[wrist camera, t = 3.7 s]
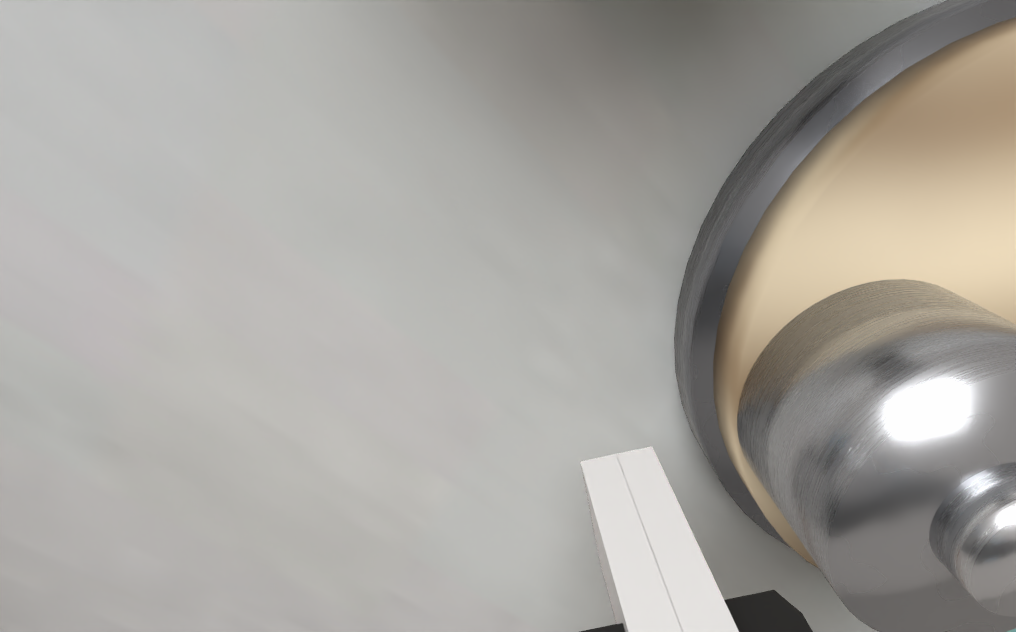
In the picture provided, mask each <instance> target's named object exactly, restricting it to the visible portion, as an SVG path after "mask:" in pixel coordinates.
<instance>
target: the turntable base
mask: <svg viewBox="0 0 1016 632" xmlns="http://www.w3.org/2000/svg"><path fill="white" fill-rule="evenodd" d="M1015 17H1016V0H947V1H944V2H942V3H939V4H937V5H935V6H933V7H930V8H928V9H926V10H924V11H921V12H919V13H917V14H914V15H912V16H910V17H908V18H905V19H903V20H901V21H899V22H897V23H895V24H894V25H892V26H890V27H889V28H887V29H885V30H884V31H882V32H880V33H879V34H877V35H875V36H873V37H872V38H870V39H868V40H867V41H865V42H863V43H862V44H860V45H858V46H856V47H855V48H854V49H852V50H851V51H850V52H848V53H847V54H846V55H844V56H843V57H842V58H840V59H839V60H838V61H836V62H835V63H834V64H832V65H831V66H830V67H828V68H827V69H826V70H825V71H823V72H822V73H821V74H819V75H818V76H817V77H815V78H814V79H813V80H812V81H811V82H810V83H809V84H808V85H807V86H806V87H805V88H804V89H803V90H802V91H800V92H799V93H798V94H797V95H796V96H795V97H794V98H793V99H792V100H791V101H790V102H789V103H788V104H787V105H786V106H785V107H783V108H782V109H781V110H780V111H779V112H778V114H777V115H776V116H775V117H774V118H773V119H772V121H771V122H770V123H769V124H768V125H767V127H766V128H765V129H764V130H763V131H762V132H761V134H760V135H759V136H758V137H757V138H756V139H755V141H754V142H753V143H752V144H751V145H750V146H749V148H748V149H747V151H746V152H745V153H744V155H743V156H742V158H741V159H740V161H739V162H738V164H737V165H736V167H735V168H734V170H733V171H732V173H731V174H730V176H729V177H728V179H727V180H726V182H725V183H724V184H723V186H722V188H721V190H720V192H719V194H718V195H717V197H716V199H715V201H714V203H713V205H712V207H711V209H710V211H709V213H708V215H707V216H706V218H705V220H704V222H703V224H702V226H701V229H700V232H699V234H698V237H697V240H696V242H695V245H694V247H693V250H692V253H691V255H690V258H689V261H688V263H687V267H686V271H685V275H684V279H683V284H682V288H681V292H680V296H679V300H678V308H677V317H676V327H675V337H674V341H675V366H676V376H677V381H678V386H679V391H680V397H681V402H682V405H683V408H684V411H685V414H686V416H687V419H688V422H689V424H690V427H691V430H692V432H693V434H694V436H695V438H696V439H697V441H698V443H699V445H700V447H701V448H702V450H703V452H704V454H705V455H706V457H707V459H708V461H709V462H710V464H711V466H712V467H713V469H714V471H715V472H716V474H717V476H718V477H719V479H720V481H721V482H722V484H723V486H724V487H725V489H726V491H727V492H728V493H729V494H730V495H731V497H732V498H733V499H734V500H735V502H736V503H737V504H738V505H739V507H740V508H741V509H742V510H743V511H744V513H745V514H746V515H748V516H749V517H750V518H751V519H752V520H753V521H754V522H755V523H757V524H758V525H759V526H760V527H761V528H762V529H763V530H765V531H766V532H767V533H768V534H770V535H772V536H773V537H775V538H776V539H778V540H780V541H781V542H783V543H784V544H786V545H787V546H789V545H788V544H787V543H786V542H785V541H784V540H783V538H782V537H781V536H780V535H779V533H778V532H777V531H776V530H775V528H774V527H773V526H772V525H771V523H770V522H769V521H768V520H767V518H766V517H765V515H764V514H763V512H762V511H761V509H760V507H759V506H758V504H757V503H756V501H755V500H754V498H753V497H752V495H751V494H750V492H749V490H748V489H747V487H746V486H745V484H744V483H743V481H742V479H741V478H740V476H739V474H738V472H737V470H736V468H735V467H734V465H733V463H732V461H731V459H730V457H729V455H728V452H727V450H726V447H725V444H724V441H723V438H722V435H721V432H720V429H719V425H718V419H717V413H716V407H715V402H714V391H713V359H714V351H715V344H716V336H717V328H718V323H719V320H720V316H721V312H722V309H723V305H724V301H725V298H726V294H727V290H728V287H729V284H730V282H731V280H732V277H733V275H734V272H735V270H736V267H737V265H738V263H739V260H740V258H741V255H742V253H743V250H744V248H745V246H746V245H747V243H748V241H749V239H750V237H751V236H752V234H753V232H754V230H755V228H756V227H757V225H758V223H759V221H760V219H761V218H762V216H763V214H764V212H765V210H766V209H767V207H768V206H769V205H770V203H771V202H772V200H773V199H774V197H775V196H776V195H777V193H778V192H779V190H780V189H781V188H782V186H783V185H784V183H785V182H786V181H787V179H788V178H789V176H790V175H791V174H792V172H793V171H794V170H795V169H796V167H797V166H798V165H799V164H800V163H801V162H802V161H803V160H804V158H805V157H806V156H807V155H808V154H809V153H810V152H811V151H812V149H813V148H814V147H815V146H816V145H817V144H818V143H819V141H820V140H821V139H822V138H823V137H824V136H825V135H826V134H827V133H828V132H829V131H830V130H831V129H832V128H833V127H834V126H835V125H837V124H838V123H839V122H840V121H841V120H842V119H843V118H844V117H845V116H846V115H848V114H849V113H850V112H851V111H852V110H853V109H854V108H855V107H856V106H857V105H859V104H860V103H861V102H862V101H863V100H864V99H865V98H867V97H868V96H869V95H871V94H872V93H874V92H875V91H876V90H878V89H879V88H880V87H882V86H883V85H884V84H886V83H887V82H889V81H890V80H891V79H893V78H894V77H895V76H897V75H898V74H899V73H901V72H902V71H904V70H905V69H906V68H908V67H910V66H912V65H913V64H915V63H917V62H919V61H920V60H922V59H924V58H926V57H927V56H929V55H931V54H932V53H934V52H936V51H938V50H939V49H941V48H943V47H945V46H946V45H948V44H950V43H952V42H954V41H956V40H959V39H961V38H963V37H966V36H968V35H970V34H973V33H975V32H977V31H980V30H982V29H984V28H986V27H989V26H991V25H993V24H996V23H998V22H1002V21H1005V20H1008V19H1012V18H1015ZM789 547H791V546H789ZM791 548H792V547H791Z"/></svg>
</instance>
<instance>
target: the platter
mask: <svg viewBox="0 0 1016 632" xmlns="http://www.w3.org/2000/svg"><path fill="white" fill-rule="evenodd" d="M891 279H907V280H917V281H923V282H927V283H931V284H935V285H938V286H940V287H943V288H945V289H947V290H950V291H952V292H954V293H956V294H958V295H960V296H962V297H964V298H965V299H967V300H969V301H971V302H973V303H975V304H977V305H979V306H981V307H983V308H985V309H987V310H989V311H991V312H993V313H995V314H997V315H999V316H1001V317H1003V318H1005V319H1007V320H1009V321H1011V322H1012V323H1014V324H1016V17H1015V18H1012V19H1008V20H1005V21H1002V22H998V23H996V24H993V25H991V26H989V27H986V28H984V29H982V30H980V31H977V32H975V33H973V34H970V35H968V36H966V37H963V38H961V39H959V40H956V41H954V42H952V43H950V44H948V45H946V46H945V47H943V48H941V49H939V50H938V51H936V52H934V53H932V54H931V55H929V56H927V57H926V58H924V59H922V60H920V61H919V62H917V63H915V64H913V65H912V66H910V67H908V68H906V69H905V70H904V71H902V72H901V73H899V74H898V75H897V76H895V77H894V78H893V79H891V80H890V81H889V82H887V83H886V84H884V85H883V86H882V87H880V88H879V89H878V90H876V91H875V92H874V93H872V94H871V95H869V96H868V97H867V98H865V99H864V100H863V101H862V102H861V103H860V104H859V105H857V106H856V107H855V108H854V109H853V110H852V111H851V112H850V113H849V114H848V115H846V116H845V117H844V118H843V119H842V120H841V121H840V122H839V123H838V124H837V125H835V126H834V127H833V128H832V129H831V130H830V131H829V132H828V133H827V134H826V135H825V136H824V137H823V138H822V139H821V140H820V141H819V143H818V144H817V145H816V146H815V147H814V148H813V149H812V151H811V152H810V153H809V154H808V155H807V156H806V157H805V158H804V160H803V161H802V162H801V163H800V164H799V165H798V166H797V167H796V169H795V170H794V171H793V172H792V174H791V175H790V176H789V178H788V179H787V181H786V182H785V183H784V185H783V186H782V188H781V189H780V190H779V192H778V193H777V195H776V196H775V197H774V199H773V200H772V202H771V203H770V205H769V206H768V207H767V209H766V210H765V212H764V214H763V216H762V218H761V219H760V221H759V223H758V225H757V227H756V228H755V230H754V232H753V234H752V236H751V237H750V239H749V241H748V243H747V245H746V246H745V248H744V250H743V253H742V255H741V258H740V260H739V263H738V265H737V267H736V270H735V272H734V275H733V277H732V280H731V282H730V284H729V287H728V290H727V294H726V298H725V301H724V305H723V309H722V312H721V316H720V320H719V323H718V328H717V336H716V344H715V351H714V359H713V391H714V402H715V407H716V413H717V419H718V425H719V429H720V432H721V435H722V438H723V441H724V444H725V447H726V450H727V452H728V455H729V457H730V459H731V461H732V463H733V465H734V467H735V468H736V470H737V472H738V474H739V476H740V478H741V479H742V481H743V483H744V484H745V486H746V487H747V489H748V490H749V492H750V494H751V495H752V497H753V498H754V500H755V501H756V503H757V504H758V506H759V507H760V509H761V511H762V512H763V514H764V515H765V517H766V518H767V520H768V521H769V522H770V523H771V525H772V526H773V527H774V528H775V530H776V531H777V532H778V533H779V535H780V536H781V537H782V538H783V540H784V541H785V542H786V543H787V544H788V545H789V546H791V547H792V548H793V549H794V550H795V551H796V552H797V553H798V554H800V555H801V556H802V557H803V558H804V559H805V560H806V561H808V562H809V563H811V564H813V565H814V566H816V567H817V568H819V567H818V566H817V564H816V563H815V561H814V560H813V558H812V557H811V556H810V554H809V553H808V551H807V550H806V548H805V547H804V545H803V544H802V542H801V541H800V539H799V538H798V537H797V535H796V534H795V532H794V531H793V529H792V528H791V526H790V525H789V523H788V522H787V520H786V519H785V518H784V516H783V515H782V513H781V512H780V510H779V509H778V507H777V506H776V504H775V503H774V501H773V500H772V499H771V497H770V496H769V494H768V493H767V491H766V490H765V488H764V487H763V485H762V484H761V482H760V481H759V480H758V478H757V477H756V475H755V474H754V472H753V471H752V469H751V468H750V466H749V465H748V463H747V461H746V459H745V457H744V455H743V452H742V449H741V446H740V443H739V438H738V431H737V413H738V406H739V400H740V396H741V393H742V390H743V386H744V384H745V381H746V379H747V377H748V375H749V372H750V370H751V368H752V367H753V365H754V363H755V362H756V360H757V358H758V357H759V355H760V354H761V352H762V351H763V350H764V348H765V347H766V346H767V345H768V343H769V342H770V341H771V340H772V339H773V337H774V336H775V335H776V334H777V333H778V332H779V331H780V330H781V329H782V328H783V327H784V326H785V325H787V324H788V323H789V322H790V321H791V320H793V319H794V318H795V317H796V316H797V315H799V314H800V313H801V312H803V311H804V310H806V309H807V308H809V307H810V306H812V305H813V304H815V303H817V302H819V301H821V300H823V299H824V298H826V297H828V296H830V295H832V294H835V293H837V292H840V291H842V290H845V289H847V288H850V287H853V286H857V285H860V284H864V283H868V282H874V281H880V280H891ZM1007 632H1016V629H1013V630H1010V631H1007Z"/></svg>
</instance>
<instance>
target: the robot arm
mask: <svg viewBox="0 0 1016 632" xmlns="http://www.w3.org/2000/svg"><path fill="white" fill-rule="evenodd" d="M580 462H581V467H582V473H583V478H584V483H585V488H586V493H587V498H588V504H589V509H590V514H591V519H592V524H593V529H594V535H595V540H596V545H597V550H598V555H599V560H600V564H601V568H602V572H603V575H604V579H605V583H606V587H607V590H608V594H609V598H610V602H611V606H612V609H613V613H614V617H615V621H616V624H615V625H610V626H605V627H600V628H595V629H590V630H586V631H581V632H813V631H812V630H811V628H810V626H809V625H808V623H807V621H806V619H805V618H804V616H803V614H802V613H801V612H800V611H799V610H797V609H796V608H795V607H794V606H793V605H791V604H790V603H789V602H788V601H787V600H785V599H784V598H783V597H782V596H781V595H779V594H778V593H777V592H776V591H775V590H771V591H766V592H762V593H757V594H752V595H747V596H742V597H737V598H732V599H727V600H724V599H723V597H722V594H721V592H720V590H719V588H718V586H717V584H716V582H715V579H714V577H713V575H712V573H711V571H710V569H709V567H708V564H707V562H706V560H705V558H704V556H703V554H702V552H701V550H700V547H699V545H698V543H697V541H696V539H695V537H694V535H693V532H692V530H691V528H690V526H689V524H688V522H687V520H686V518H685V515H684V513H683V511H682V509H681V507H680V505H679V503H678V500H677V498H676V496H675V494H674V492H673V490H672V488H671V486H670V483H669V481H668V479H667V477H666V475H665V473H664V471H663V468H662V466H661V464H660V462H659V460H658V458H657V456H656V454H655V451H654V449H653V447H652V446H651V447H646V448H642V449H637V450H632V451H627V452H623V453H618V454H613V455H608V456H604V457H599V458H594V459H589V460H585V461H580Z"/></svg>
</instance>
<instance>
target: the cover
mask: <svg viewBox="0 0 1016 632" xmlns="http://www.w3.org/2000/svg"><path fill="white" fill-rule="evenodd" d="M737 431H738V438H739V443H740V446H741V449H742V452H743V455H744V457H745V459H746V461H747V463H748V465H749V466H750V468H751V469H752V471H753V472H754V474H755V475H756V477H757V478H758V480H759V481H760V482H761V484H762V485H763V487H764V488H765V490H766V491H767V493H768V494H769V496H770V497H771V499H772V500H773V501H774V503H775V504H776V506H777V507H778V509H779V510H780V512H781V513H782V515H783V516H784V518H785V519H786V520H787V522H788V523H789V525H790V526H791V528H792V529H793V531H794V532H795V534H796V535H797V537H798V538H799V539H800V541H801V542H802V544H803V545H804V547H805V548H806V550H807V551H808V553H809V554H810V556H811V557H812V558H813V560H814V561H815V563H816V564H817V566H818V567H819V569H820V570H821V572H822V573H823V575H824V576H825V577H826V579H827V580H828V582H829V583H830V585H831V586H832V588H833V589H834V591H835V592H836V594H837V595H838V596H839V598H840V599H841V601H842V602H843V603H844V605H845V606H846V607H847V608H848V610H849V611H850V612H851V613H852V614H853V615H855V616H856V617H857V618H858V619H859V620H860V621H862V622H863V623H865V624H866V625H868V626H870V627H871V628H873V629H875V630H877V631H879V632H1007V631H1010V630H1013V629H1016V324H1014V323H1012V322H1011V321H1009V320H1007V319H1005V318H1003V317H1001V316H999V315H997V314H995V313H993V312H991V311H989V310H987V309H985V308H983V307H981V306H979V305H977V304H975V303H973V302H971V301H969V300H967V299H965V298H964V297H962V296H960V295H958V294H956V293H954V292H952V291H950V290H947V289H945V288H943V287H940V286H938V285H935V284H931V283H927V282H923V281H917V280H907V279H891V280H880V281H874V282H868V283H864V284H860V285H857V286H853V287H850V288H847V289H845V290H842V291H840V292H837V293H835V294H832V295H830V296H828V297H826V298H824V299H823V300H821V301H819V302H817V303H815V304H813V305H812V306H810V307H809V308H807V309H806V310H804V311H803V312H801V313H800V314H799V315H797V316H796V317H795V318H794V319H793V320H791V321H790V322H789V323H788V324H787V325H785V326H784V327H783V328H782V329H781V330H780V331H779V332H778V333H777V334H776V335H775V336H774V337H773V339H772V340H771V341H770V342H769V343H768V345H767V346H766V347H765V348H764V350H763V351H762V352H761V354H760V355H759V357H758V358H757V360H756V362H755V363H754V365H753V367H752V368H751V370H750V372H749V375H748V377H747V379H746V381H745V384H744V386H743V390H742V393H741V396H740V400H739V406H738V413H737Z"/></svg>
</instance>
